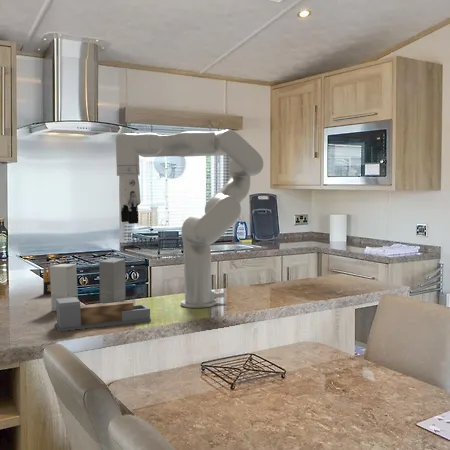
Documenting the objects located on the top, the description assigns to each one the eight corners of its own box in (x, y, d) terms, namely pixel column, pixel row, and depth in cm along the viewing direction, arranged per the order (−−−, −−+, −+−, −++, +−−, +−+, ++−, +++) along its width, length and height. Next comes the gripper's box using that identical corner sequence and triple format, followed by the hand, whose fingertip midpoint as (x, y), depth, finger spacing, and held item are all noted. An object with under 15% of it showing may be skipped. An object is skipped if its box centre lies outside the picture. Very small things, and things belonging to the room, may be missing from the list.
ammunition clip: (43, 294, 223) (42, 265, 222) (43, 294, 224) (42, 264, 223) (71, 292, 226) (70, 263, 226) (70, 291, 228) (69, 262, 227)
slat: (130, 316, 180) (130, 300, 179) (133, 318, 177) (133, 302, 176) (70, 322, 172) (69, 306, 172) (72, 325, 169) (71, 309, 169)
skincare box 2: (111, 298, 212) (110, 257, 211) (127, 300, 209) (126, 258, 208) (98, 303, 204) (97, 260, 203) (115, 304, 202) (113, 261, 200)
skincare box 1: (67, 311, 191) (66, 266, 190) (50, 311, 193) (48, 266, 191) (78, 306, 199) (77, 263, 198) (61, 306, 201) (60, 263, 200)
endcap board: (143, 315, 184) (142, 290, 184) (151, 321, 176) (150, 295, 176) (55, 325, 173) (54, 298, 172) (59, 331, 165) (57, 304, 164)
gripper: (146, 170, 180) (147, 223, 181) (132, 171, 195) (134, 220, 197) (123, 170, 177) (124, 224, 178) (111, 172, 192) (112, 221, 194)
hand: (129, 222), depth 187 cm, fingers open, 9 cm apart
